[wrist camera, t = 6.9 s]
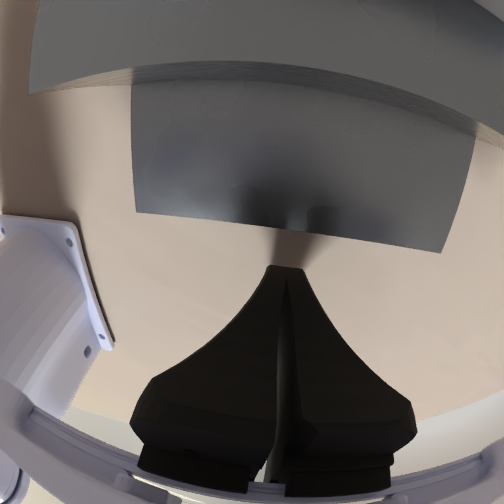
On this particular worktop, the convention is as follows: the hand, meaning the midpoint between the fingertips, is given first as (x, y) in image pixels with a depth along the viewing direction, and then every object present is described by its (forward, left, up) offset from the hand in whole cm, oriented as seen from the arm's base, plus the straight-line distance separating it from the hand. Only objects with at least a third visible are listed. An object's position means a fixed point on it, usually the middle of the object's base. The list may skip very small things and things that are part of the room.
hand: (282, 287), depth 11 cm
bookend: (+6, 0, -1) cm, 6 cm away
